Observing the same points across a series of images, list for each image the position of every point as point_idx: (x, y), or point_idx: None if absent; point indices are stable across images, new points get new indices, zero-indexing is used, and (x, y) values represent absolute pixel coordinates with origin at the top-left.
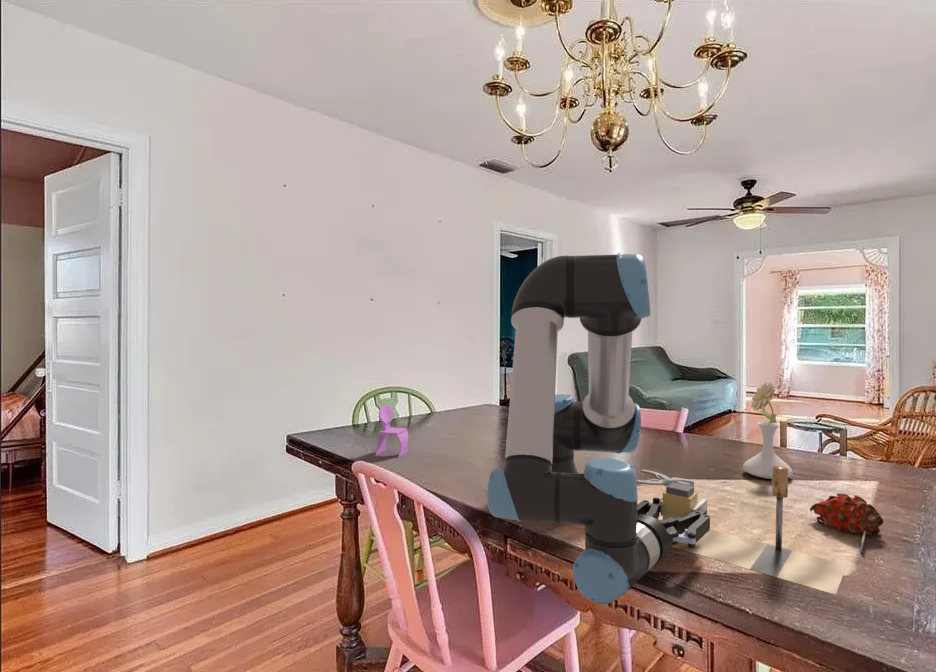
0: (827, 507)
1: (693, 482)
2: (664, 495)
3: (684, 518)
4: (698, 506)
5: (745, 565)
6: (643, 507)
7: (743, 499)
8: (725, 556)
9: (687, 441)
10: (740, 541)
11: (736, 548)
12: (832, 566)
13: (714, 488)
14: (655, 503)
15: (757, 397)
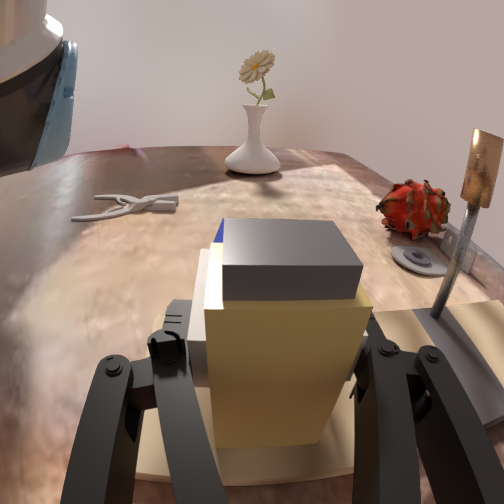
0: (408, 202)
1: (177, 197)
2: (216, 320)
3: (406, 450)
4: None
5: None
6: (118, 437)
7: (260, 208)
8: None
9: (145, 153)
10: None
11: None
12: (500, 314)
13: (209, 200)
14: (169, 370)
15: (247, 69)
